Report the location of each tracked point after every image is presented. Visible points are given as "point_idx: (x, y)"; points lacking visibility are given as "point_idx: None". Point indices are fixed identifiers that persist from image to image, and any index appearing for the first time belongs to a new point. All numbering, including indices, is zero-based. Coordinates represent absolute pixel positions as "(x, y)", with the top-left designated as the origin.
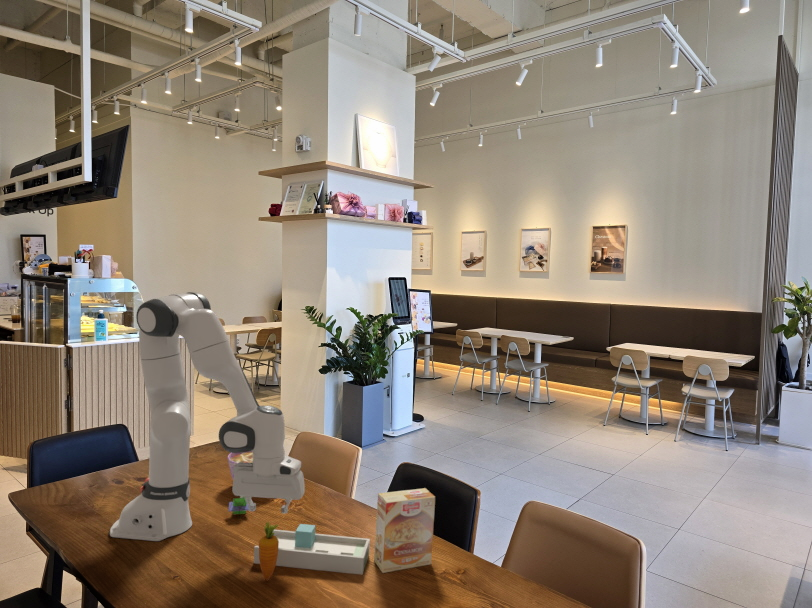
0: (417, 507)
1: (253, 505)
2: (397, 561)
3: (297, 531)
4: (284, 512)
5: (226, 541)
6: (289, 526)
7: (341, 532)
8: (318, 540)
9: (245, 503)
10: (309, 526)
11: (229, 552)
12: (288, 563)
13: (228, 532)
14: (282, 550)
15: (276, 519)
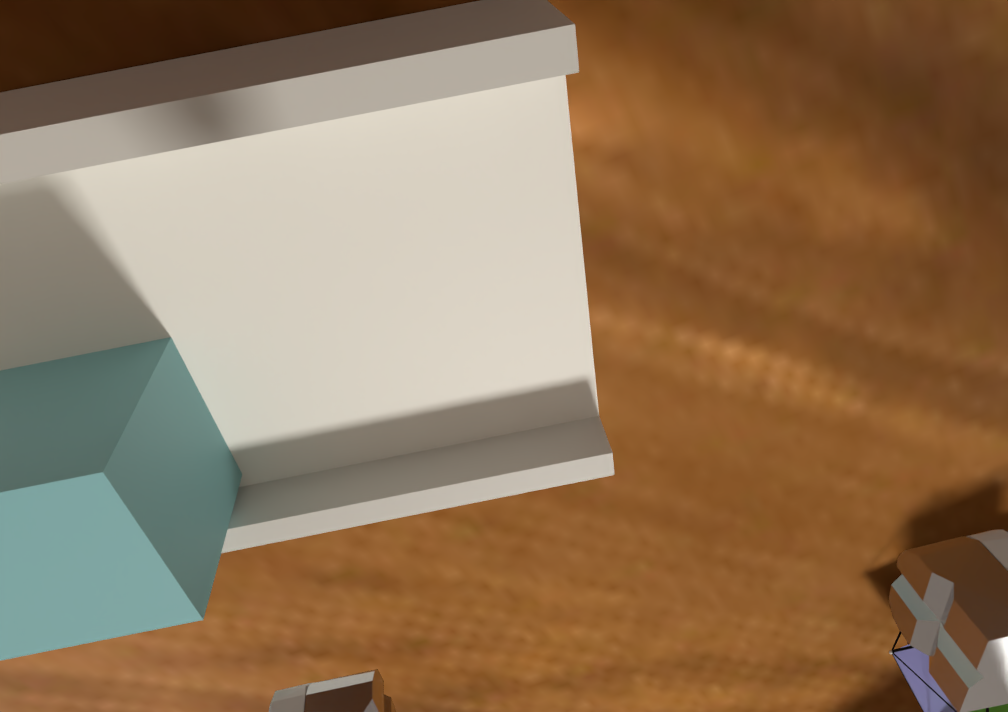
0: None
1: (994, 650)
2: None
3: (75, 474)
4: (302, 701)
5: (956, 278)
6: (541, 619)
7: (139, 690)
8: None
9: None
10: (39, 618)
11: (877, 109)
12: (95, 81)
13: (970, 401)
14: (127, 107)
15: (672, 646)
